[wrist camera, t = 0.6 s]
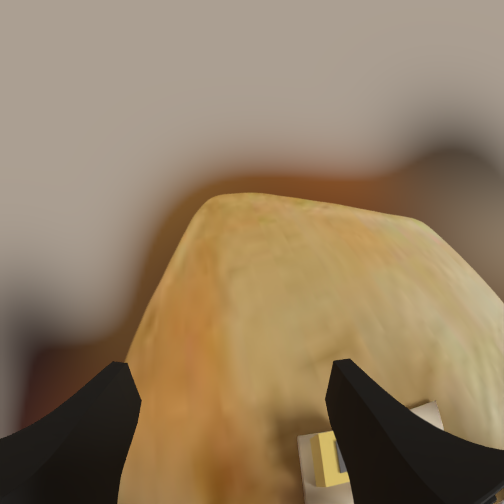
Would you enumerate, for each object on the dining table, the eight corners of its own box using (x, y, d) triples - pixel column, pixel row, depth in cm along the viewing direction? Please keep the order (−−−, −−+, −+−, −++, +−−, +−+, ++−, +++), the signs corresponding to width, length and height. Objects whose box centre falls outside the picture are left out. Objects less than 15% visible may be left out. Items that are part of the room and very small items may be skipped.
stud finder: (358, 476, 17) (373, 475, 14) (316, 486, 16) (326, 487, 14) (350, 431, 20) (363, 423, 18) (309, 439, 20) (318, 433, 18)
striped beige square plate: (453, 503, 12) (457, 502, 11) (310, 559, 11) (312, 561, 10) (431, 402, 22) (435, 400, 22) (296, 437, 21) (298, 435, 20)
